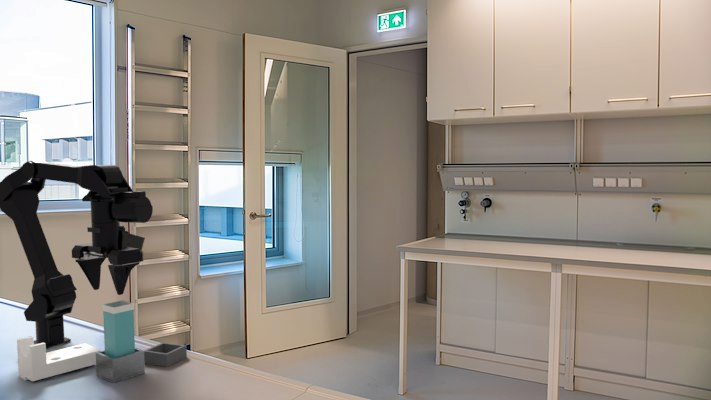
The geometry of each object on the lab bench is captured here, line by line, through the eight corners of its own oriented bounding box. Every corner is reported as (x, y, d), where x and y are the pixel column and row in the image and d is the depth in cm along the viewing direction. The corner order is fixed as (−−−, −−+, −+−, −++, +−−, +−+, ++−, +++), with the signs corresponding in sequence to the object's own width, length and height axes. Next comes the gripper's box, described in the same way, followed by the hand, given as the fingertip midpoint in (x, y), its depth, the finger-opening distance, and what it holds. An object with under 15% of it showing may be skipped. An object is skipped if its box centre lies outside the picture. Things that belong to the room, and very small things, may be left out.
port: (96, 375, 111) (95, 352, 111) (127, 365, 116) (126, 344, 116) (113, 383, 107) (112, 359, 106) (144, 373, 112) (144, 350, 111)
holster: (143, 362, 118) (142, 351, 117) (163, 353, 123) (163, 342, 123) (167, 366, 115) (166, 354, 115) (186, 356, 121) (186, 345, 121)
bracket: (32, 386, 106) (30, 346, 106) (18, 377, 111) (16, 339, 110) (101, 367, 116) (99, 331, 116) (85, 359, 121) (84, 324, 120)
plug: (104, 370, 111) (102, 304, 110) (124, 363, 114) (122, 300, 113) (116, 374, 108) (113, 307, 107) (136, 368, 112) (134, 303, 111)
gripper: (163, 220, 126) (165, 290, 127) (114, 217, 136) (116, 281, 137) (117, 225, 117) (120, 300, 118) (69, 221, 127) (71, 289, 128)
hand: (108, 292), depth 125 cm, fingers open, 9 cm apart
